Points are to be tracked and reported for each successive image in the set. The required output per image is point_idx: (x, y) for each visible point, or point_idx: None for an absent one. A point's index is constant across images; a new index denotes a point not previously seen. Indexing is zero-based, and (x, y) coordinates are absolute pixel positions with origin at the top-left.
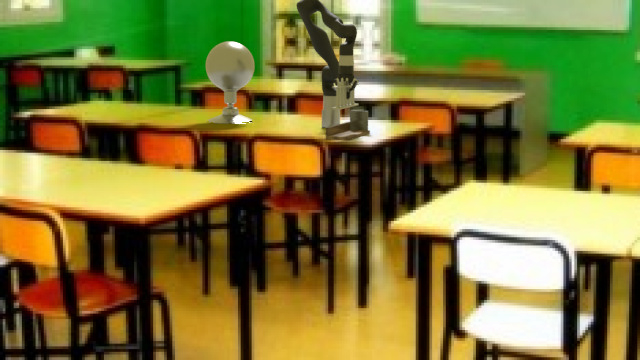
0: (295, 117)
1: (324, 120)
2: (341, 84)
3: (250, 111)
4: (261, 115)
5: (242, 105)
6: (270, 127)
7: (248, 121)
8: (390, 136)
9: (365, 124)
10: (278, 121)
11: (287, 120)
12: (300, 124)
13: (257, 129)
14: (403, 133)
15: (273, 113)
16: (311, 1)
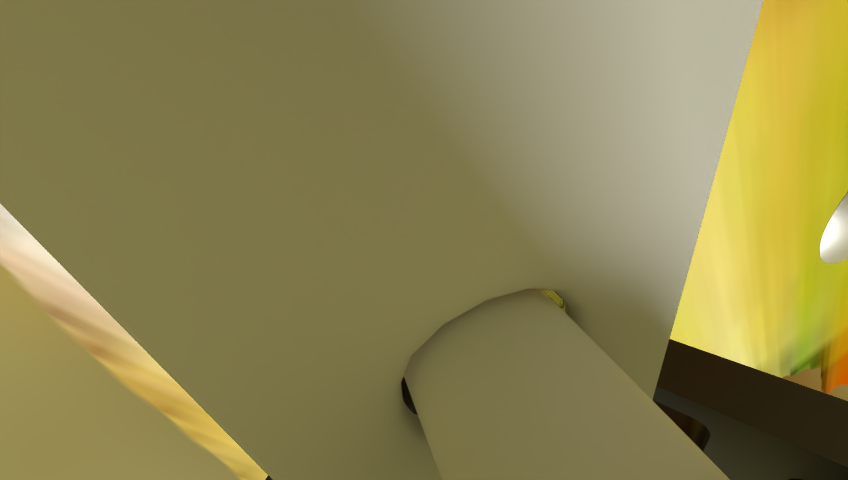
0: None
1: None
2: (566, 380)
3: (821, 353)
4: (799, 332)
5: (831, 388)
6: (770, 152)
7: (843, 209)
8: (121, 336)
9: None
10: (754, 290)
11: (732, 323)
12: (682, 294)
13: (820, 49)
14: (197, 439)
15: (774, 371)
16: None
